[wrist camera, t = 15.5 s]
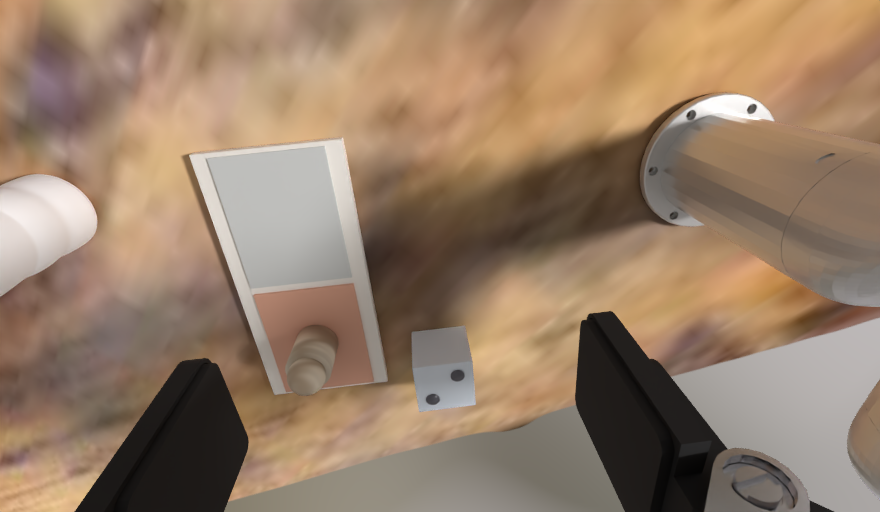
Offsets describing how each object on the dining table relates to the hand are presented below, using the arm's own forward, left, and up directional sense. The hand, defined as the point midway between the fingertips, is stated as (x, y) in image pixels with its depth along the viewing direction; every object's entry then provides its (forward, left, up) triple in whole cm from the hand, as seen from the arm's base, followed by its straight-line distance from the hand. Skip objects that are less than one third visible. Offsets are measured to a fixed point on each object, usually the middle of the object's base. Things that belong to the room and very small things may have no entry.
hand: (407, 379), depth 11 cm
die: (-1, +24, -30) cm, 39 cm away
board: (+12, +13, -30) cm, 35 cm away
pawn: (+12, +20, -29) cm, 37 cm away
